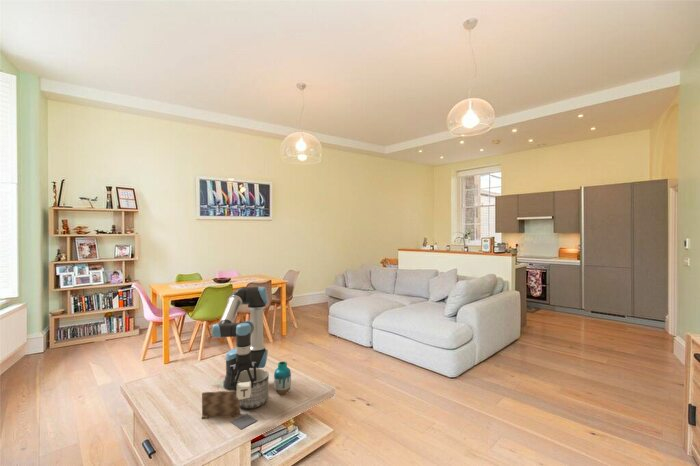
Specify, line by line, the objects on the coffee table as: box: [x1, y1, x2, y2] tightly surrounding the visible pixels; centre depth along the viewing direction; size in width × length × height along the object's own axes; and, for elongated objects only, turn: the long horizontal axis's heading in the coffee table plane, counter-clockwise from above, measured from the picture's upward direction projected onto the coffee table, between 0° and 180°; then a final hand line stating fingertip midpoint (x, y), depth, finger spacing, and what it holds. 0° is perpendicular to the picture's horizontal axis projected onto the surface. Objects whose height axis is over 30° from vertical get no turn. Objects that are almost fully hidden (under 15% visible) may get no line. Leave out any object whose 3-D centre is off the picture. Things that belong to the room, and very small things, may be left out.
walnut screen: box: [201, 390, 241, 420], centre depth 185 cm, size 20×6×13 cm, turn 97°
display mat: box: [230, 413, 258, 430], centre depth 178 cm, size 10×10×1 cm
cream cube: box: [238, 382, 250, 400], centre depth 177 cm, size 6×6×6 cm
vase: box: [273, 360, 292, 395], centre depth 209 cm, size 11×11×19 cm
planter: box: [235, 368, 270, 409], centre depth 197 cm, size 19×19×16 cm
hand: (243, 395), depth 178 cm, fingers closed on cream cube, 6 cm apart
